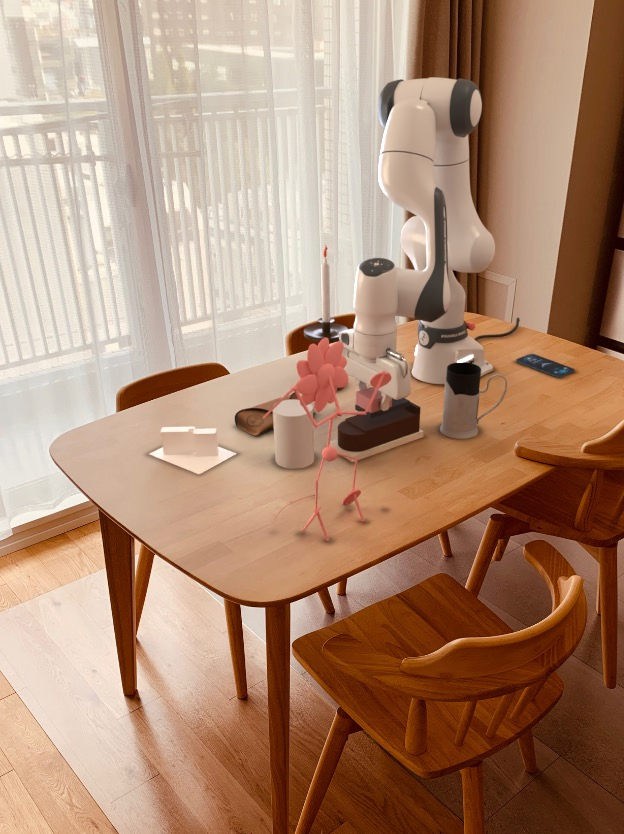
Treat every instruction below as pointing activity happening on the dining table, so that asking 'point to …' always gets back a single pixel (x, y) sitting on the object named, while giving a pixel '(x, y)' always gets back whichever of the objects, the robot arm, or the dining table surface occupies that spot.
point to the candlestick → (325, 314)
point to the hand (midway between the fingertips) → (373, 403)
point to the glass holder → (463, 400)
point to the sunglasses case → (259, 417)
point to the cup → (293, 435)
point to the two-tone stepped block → (377, 403)
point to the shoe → (377, 432)
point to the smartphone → (545, 365)
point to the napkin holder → (191, 448)
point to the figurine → (321, 387)
